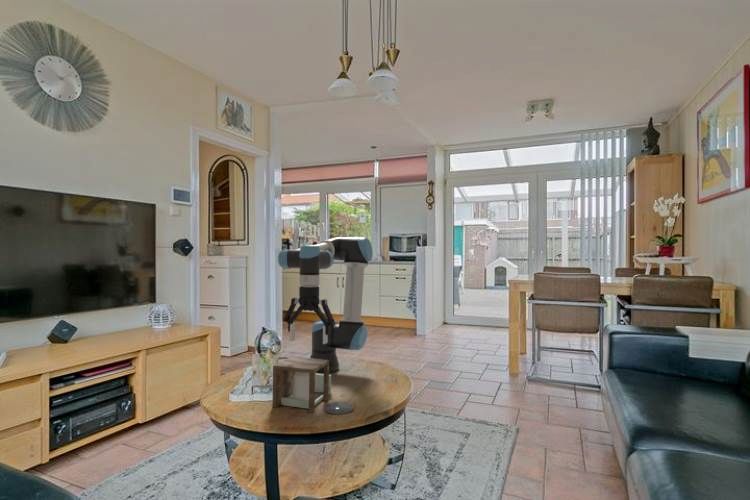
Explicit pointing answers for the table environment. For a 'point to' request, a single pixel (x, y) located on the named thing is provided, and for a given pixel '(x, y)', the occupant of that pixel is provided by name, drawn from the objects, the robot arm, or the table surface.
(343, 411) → the coaster
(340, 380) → the table surface
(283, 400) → the grey blocky pieces
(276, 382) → the wooden step stool
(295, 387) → the beverage can
